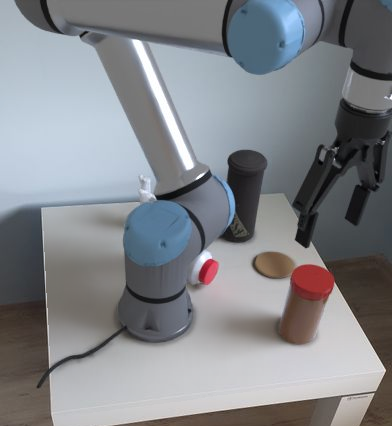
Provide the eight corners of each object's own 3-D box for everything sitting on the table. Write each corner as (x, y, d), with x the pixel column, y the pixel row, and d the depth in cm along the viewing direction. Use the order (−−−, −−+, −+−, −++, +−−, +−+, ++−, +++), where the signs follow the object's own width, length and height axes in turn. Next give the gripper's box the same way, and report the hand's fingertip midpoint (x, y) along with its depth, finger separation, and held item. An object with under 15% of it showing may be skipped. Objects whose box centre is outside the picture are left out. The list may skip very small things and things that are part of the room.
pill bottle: (173, 267, 120) (213, 287, 116) (155, 270, 113) (197, 292, 109) (184, 235, 117) (225, 255, 113) (166, 236, 110) (209, 257, 106)
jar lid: (310, 306, 94) (313, 298, 93) (280, 280, 98) (282, 273, 97) (341, 290, 98) (343, 282, 96) (311, 266, 102) (313, 258, 100)
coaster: (273, 283, 116) (273, 281, 116) (247, 261, 121) (247, 259, 120) (302, 270, 120) (302, 268, 120) (276, 249, 125) (276, 247, 124)
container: (212, 226, 129) (221, 149, 114) (244, 219, 132) (257, 143, 117) (228, 246, 124) (239, 169, 109) (261, 239, 127) (276, 163, 112)
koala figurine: (129, 218, 128) (128, 174, 119) (155, 213, 130) (155, 169, 122) (141, 238, 123) (141, 193, 114) (168, 233, 126) (169, 188, 117)
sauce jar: (296, 349, 104) (312, 299, 93) (270, 326, 107) (283, 275, 97) (323, 334, 107) (341, 284, 97) (297, 312, 111) (312, 261, 101)
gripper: (327, 132, 66) (291, 268, 82) (441, 96, 76) (389, 222, 92) (287, 108, 70) (260, 242, 86) (400, 77, 80) (357, 201, 96)
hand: (327, 232), depth 89 cm, fingers open, 11 cm apart
